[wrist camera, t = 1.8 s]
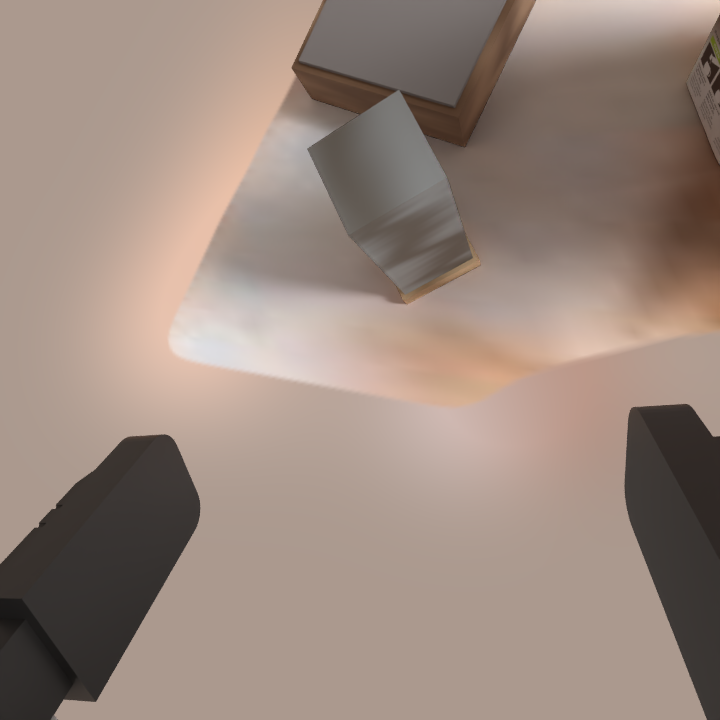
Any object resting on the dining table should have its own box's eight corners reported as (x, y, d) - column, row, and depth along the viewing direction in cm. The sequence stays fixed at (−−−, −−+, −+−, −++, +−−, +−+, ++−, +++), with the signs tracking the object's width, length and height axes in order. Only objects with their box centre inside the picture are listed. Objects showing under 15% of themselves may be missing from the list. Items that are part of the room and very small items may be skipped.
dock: (396, -81, 39) (382, -135, 36) (561, -54, 35) (566, -110, 31) (312, 98, 40) (289, 65, 36) (465, 147, 36) (457, 114, 32)
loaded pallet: (444, 197, 36) (402, 80, 24) (480, 264, 35) (456, 179, 22) (374, 237, 37) (299, 147, 25) (407, 304, 36) (345, 244, 24)
